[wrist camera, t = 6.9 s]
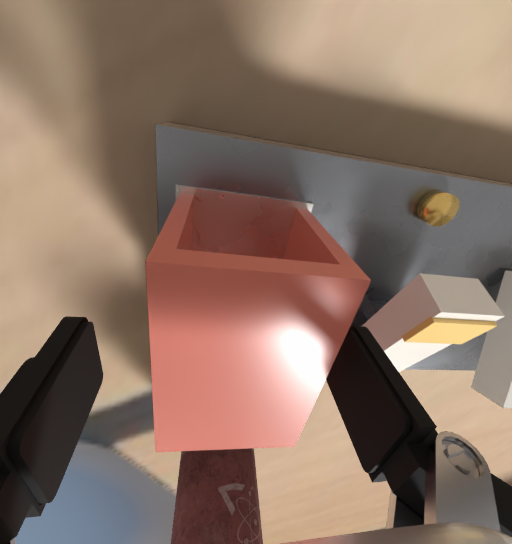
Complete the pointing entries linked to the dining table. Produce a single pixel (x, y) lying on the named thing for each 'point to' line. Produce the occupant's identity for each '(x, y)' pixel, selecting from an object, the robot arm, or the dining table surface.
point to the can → (217, 498)
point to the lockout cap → (244, 334)
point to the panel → (341, 214)
